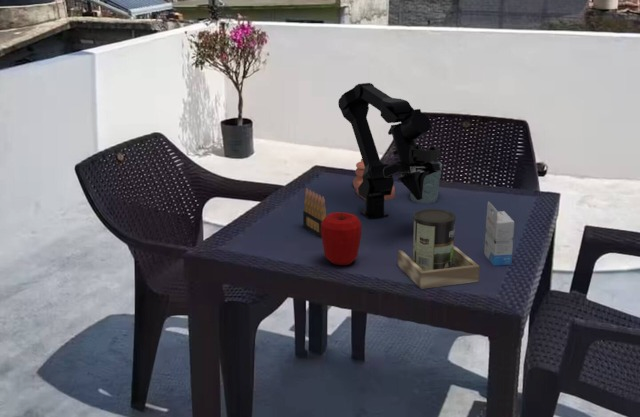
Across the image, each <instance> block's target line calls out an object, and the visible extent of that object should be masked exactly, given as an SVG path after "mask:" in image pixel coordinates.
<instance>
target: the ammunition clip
mask: <svg viewBox="0 0 640 417" xmlns="http://www.w3.org/2000/svg"><path fill="white" fill-rule="evenodd" d="M303 203H304V204H303V205H304V207H303V208H304V210H303V213H302V214H303V215H302V216H303V219H302V220H303V221H302V222H303V223H302V228H303V227H304V229H305V230H306V231H308V230H309V231H308V232H310V231H311V232H310V233H312V234H313V233H314V235H315V236H316V237H318V238H320V239H322V235H321V222H322V221H323V220H324V219H325V217H326V216H327V210H326V201H325V197H324V195H322V196H321V194H318V192H316V193H315V191H314V190H313V191H312V190H311V189H308V187H306V188H305V193H304V202H303Z"/></svg>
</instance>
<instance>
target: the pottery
mask: <svg viewBox="0 0 640 417" xmlns="http://www.w3.org/2000/svg"><path fill="white" fill-rule="evenodd" d="M355 167H356V169H355V171H354V174H355V175H356V176H355V178H353V181H352V183H353V188H354V189H355V190H356V191H355V192H356V193H355V194H357V195H358V196H359V197H360V198H362V200H364V201H365V198H364V197H362V196H360V195H359V191H358V187H359V186H360V185H361V183H362V182H363V178H362V176H363V172H364V169H365V166H364V163H363V160H362V158H360V161H358V162H357V163H356V164H355ZM395 190H396V186H395V185H393V188H392V192H391V195H385V196H384V201H386V200H393V199H395V195H396V194H395V193H396V191H395Z"/></svg>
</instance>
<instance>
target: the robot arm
mask: <svg viewBox="0 0 640 417" xmlns="http://www.w3.org/2000/svg"><path fill="white" fill-rule="evenodd" d="M374 85H375V84H373V83H372V82H366V83H365V82H364V83H358V84H355V86H354V87H353V88H351V89H350V90H348V91H345V92H344V93H343V94H342V95H341V96H340V98H339V99H338V108H339V110H340V111H341V114H342V116H343V118H344V119H346V121H347V122H349V124H351V128H352V130H353V133H354V136H355V137H354V138H355V141H356V144H357V146H358V149H359V152H360V157H361V159H362V160H363V163H364V166H365V169H364V172H363V176H362V178H363V182H362V183H361V185H360V186H359V187H358V191H359V195H360V196H362V197H364V198H365V200H364V201H365V202H364V203H365V204H364V210H360V213H361V214H362V215H363V216H365V217H366V218H367V219H375V218H376V219H378V218H384V217H389V215H390V214H389V213H387V212H386V211H385V200H384V196H385V195H391V192H392V188H393V186H394V184H395V183H394V178H393V177H394V175H395V174H400V177H398V178H397V180H398V181H400V182H401V183H402V184H403V185H404V186H405V187H406V188H407V189H408V191H409V193H410V192H411V193H412V194H413V195H414V197H415V198H416V199H417V200H421V199H422V193H423V182H424V178H425V177H426V176H427V175H430V174H433V173H435V172H438V171H440V166H439V164H438V163H437V162H438V161H439V160H438V159H440V158H441V156H442V153H441V151H440V148H439V146H430V147H429V149H423V148H422V146H421V145H420V144H417V143H416V142H417V141H416V140H417V139H418V138H420V137H422V136H423V135H424V134H426V133H427V132H430V129H431V124H432V122H431V120H430V119H429V117H428V116H427V115H426V114H425V113H422V110H421V108H417V109H415V108H413V107H412V105H411V103H410V102H409V101H408V100H405V99H402V98H397V97H396V98H395V97H391V96H390V95H388V94H387V93H385V92H383V91H382V90H380V89H379V88H377V87H376V86H374ZM369 105H371V106H372V107H373V108H375V109H377V110H378V111H379V112H380V117H381V118H382V119H383V121H385V122H386V123H387V124H392V125H390V128H389V130H388V132H387V133H388V136H389V135H392V140H393V143H394V146H395V147H394V148H395V150H394V151H393V152H392V153H393V156H397V159H398V161H395V162H393V163H391V164H388V163H383V162H382V161H381V159H380V156H379V153H378V152H379V151H378V149H377V147H376V143H375V140H374V136H373V134H372V131H371V128H370V125H369V121H368V118H367V116H368V114H369V109H370V106H369ZM395 123H396V124H395ZM432 161H434V162H432ZM426 162H427V163H426ZM421 164H422V165H421ZM359 195H358V196H359ZM360 196H359V197H360ZM362 197H361V198H362Z"/></svg>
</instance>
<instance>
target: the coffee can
mask: <svg viewBox="0 0 640 417" xmlns="http://www.w3.org/2000/svg"><path fill="white" fill-rule="evenodd" d="M412 217H413V237H412V239H413V241H412V260H413V261H414V262H415V263H416V264H417V265H418V266H419V267H420V268H421V269H422V270H423V271H428V270H436V269H444V268H452V267H453V265H454V264H453V248H454V246H455V245H454V244H455V224H456V223H455V222H456V217H457V216H456V214H455V213H453V212H452V211H450V210H445V209H440V208H426V209H420V210H417V211H415V212H414V213H413V216H412Z"/></svg>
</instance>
